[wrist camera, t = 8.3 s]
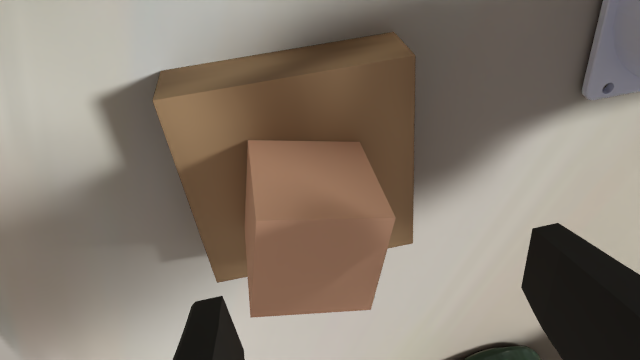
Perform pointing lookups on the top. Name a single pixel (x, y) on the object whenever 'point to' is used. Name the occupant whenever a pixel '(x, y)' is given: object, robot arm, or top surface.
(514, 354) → the coffee jar
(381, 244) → the terracotta block
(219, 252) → the walnut slab
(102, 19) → the top surface
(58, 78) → the top surface
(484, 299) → the top surface
